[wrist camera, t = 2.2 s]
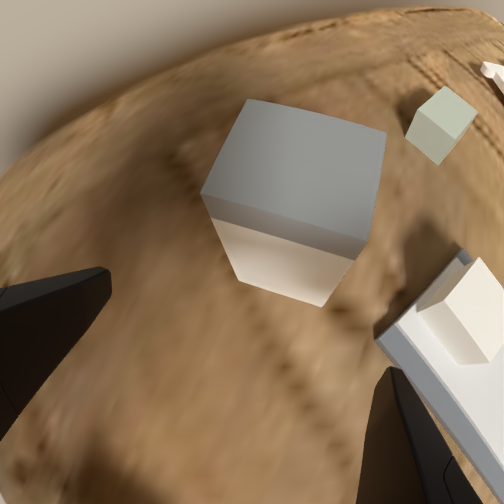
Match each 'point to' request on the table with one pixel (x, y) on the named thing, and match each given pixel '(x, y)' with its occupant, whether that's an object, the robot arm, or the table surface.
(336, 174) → the block
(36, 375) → the robot arm
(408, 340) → the board
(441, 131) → the box
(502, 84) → the organizer
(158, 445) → the table surface
